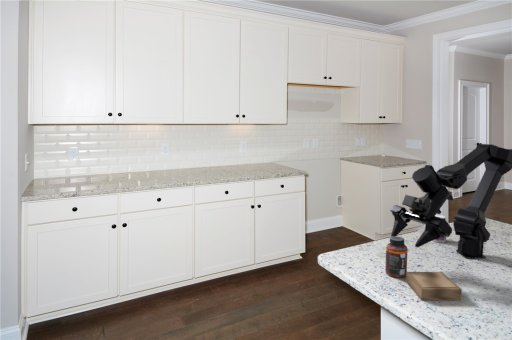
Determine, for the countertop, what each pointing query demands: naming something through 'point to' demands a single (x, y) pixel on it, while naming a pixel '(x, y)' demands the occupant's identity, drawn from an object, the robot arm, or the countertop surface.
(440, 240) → the pill bottle
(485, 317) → the countertop surface
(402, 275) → the supplement bottle
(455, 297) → the walnut plinth
